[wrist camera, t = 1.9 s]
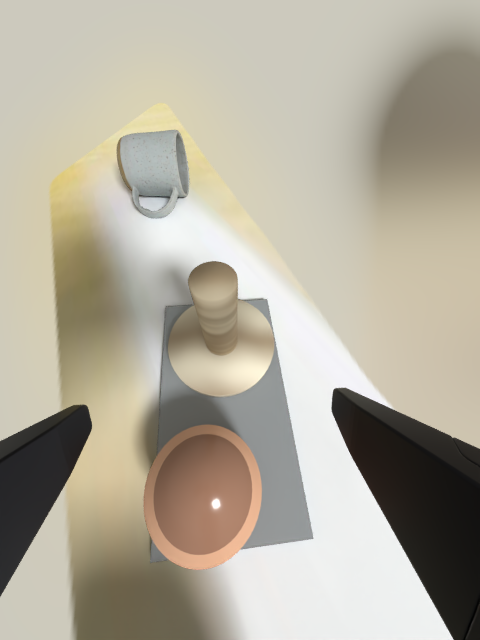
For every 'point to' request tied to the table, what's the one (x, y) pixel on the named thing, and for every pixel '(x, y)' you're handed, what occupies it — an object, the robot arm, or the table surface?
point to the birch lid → (219, 336)
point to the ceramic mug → (154, 167)
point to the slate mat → (244, 439)
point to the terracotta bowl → (202, 497)
